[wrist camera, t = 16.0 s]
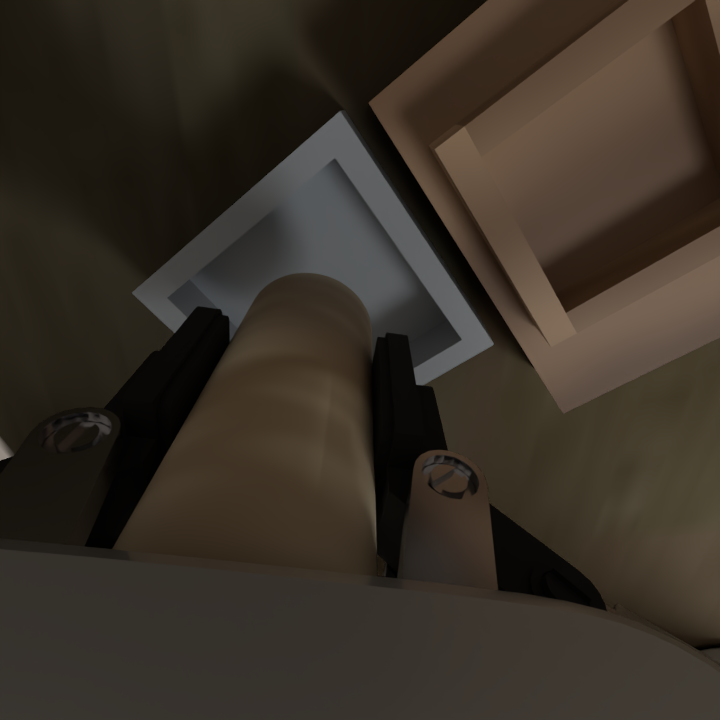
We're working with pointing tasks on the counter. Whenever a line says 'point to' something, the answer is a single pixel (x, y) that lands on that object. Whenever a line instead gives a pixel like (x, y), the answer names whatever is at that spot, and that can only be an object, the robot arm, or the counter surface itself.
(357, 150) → the tray
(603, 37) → the plank with square hole
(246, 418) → the dowel
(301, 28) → the counter surface
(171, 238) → the counter surface
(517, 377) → the counter surface
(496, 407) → the counter surface
